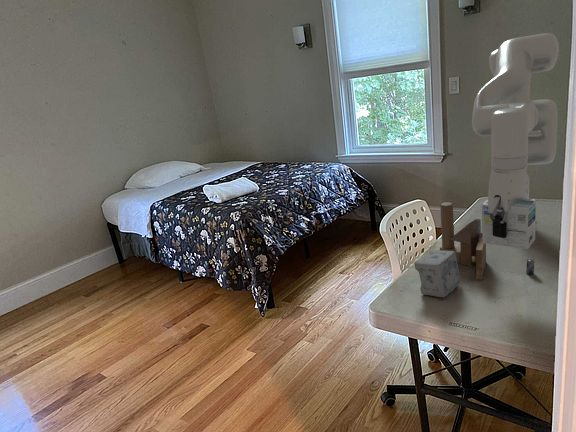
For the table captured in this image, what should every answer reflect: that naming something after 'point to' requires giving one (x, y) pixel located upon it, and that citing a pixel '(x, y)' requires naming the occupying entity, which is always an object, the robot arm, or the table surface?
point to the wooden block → (458, 236)
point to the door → (480, 258)
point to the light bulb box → (512, 225)
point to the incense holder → (438, 273)
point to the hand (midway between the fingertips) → (508, 230)
